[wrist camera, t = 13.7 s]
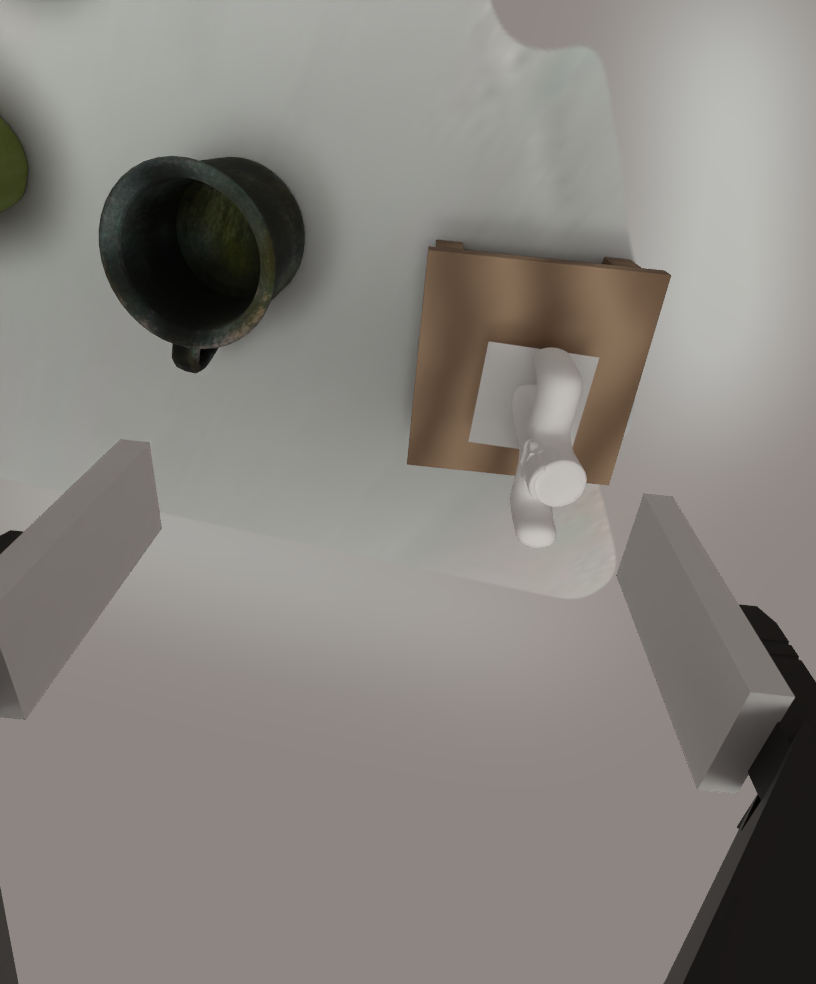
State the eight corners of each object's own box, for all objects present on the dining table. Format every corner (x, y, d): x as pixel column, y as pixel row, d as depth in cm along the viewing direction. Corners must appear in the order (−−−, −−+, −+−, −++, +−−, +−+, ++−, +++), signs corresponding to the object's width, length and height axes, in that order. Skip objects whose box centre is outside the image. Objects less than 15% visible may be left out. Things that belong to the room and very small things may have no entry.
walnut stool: (411, 422, 55) (406, 464, 48) (430, 232, 47) (428, 250, 40) (588, 440, 55) (608, 485, 48) (638, 253, 47) (671, 275, 40)
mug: (327, 180, 46) (292, 195, 35) (285, 359, 53) (246, 415, 43) (183, 126, 44) (103, 126, 34) (160, 317, 52) (88, 365, 41)
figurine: (592, 324, 42) (657, 411, 29) (557, 446, 47) (599, 567, 34) (488, 309, 42) (507, 390, 29) (464, 433, 47) (470, 549, 34)
